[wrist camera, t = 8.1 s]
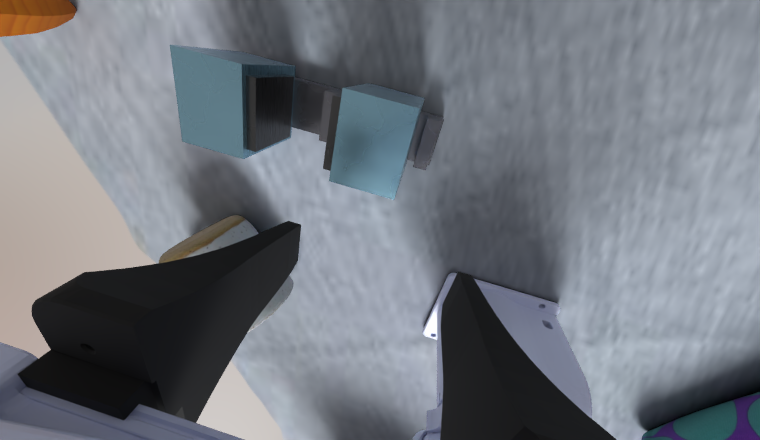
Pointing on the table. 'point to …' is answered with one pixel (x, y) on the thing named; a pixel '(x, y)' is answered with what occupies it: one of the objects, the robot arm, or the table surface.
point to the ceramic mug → (221, 237)
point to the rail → (260, 104)
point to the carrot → (33, 15)
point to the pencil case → (715, 423)
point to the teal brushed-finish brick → (371, 137)
